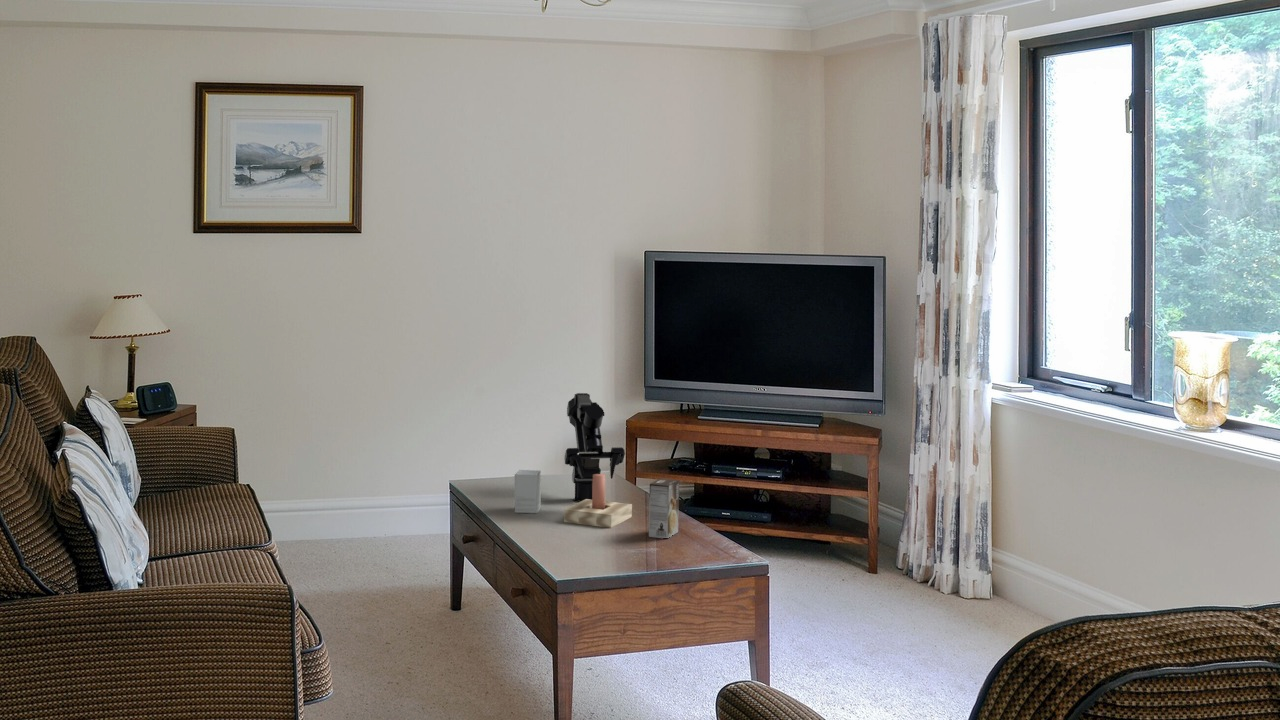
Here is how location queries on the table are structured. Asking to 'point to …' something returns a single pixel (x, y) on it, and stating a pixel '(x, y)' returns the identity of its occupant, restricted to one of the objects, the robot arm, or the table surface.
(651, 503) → the white food box
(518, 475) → the supplement box
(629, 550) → the table surface
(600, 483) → the peg
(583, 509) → the socket board
